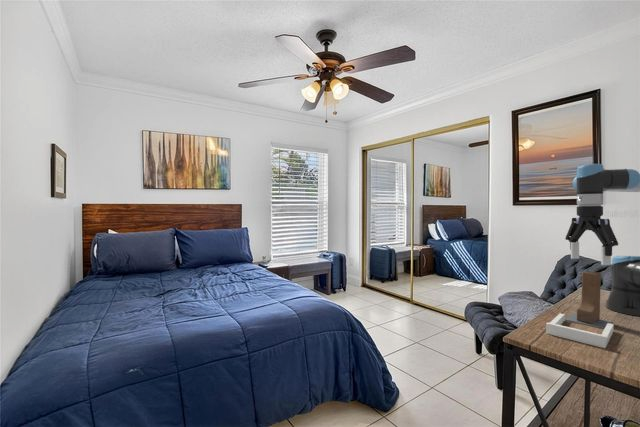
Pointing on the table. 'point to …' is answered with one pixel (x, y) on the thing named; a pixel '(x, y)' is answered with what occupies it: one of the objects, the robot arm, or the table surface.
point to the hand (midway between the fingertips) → (589, 261)
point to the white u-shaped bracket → (579, 332)
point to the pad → (599, 323)
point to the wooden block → (590, 297)
